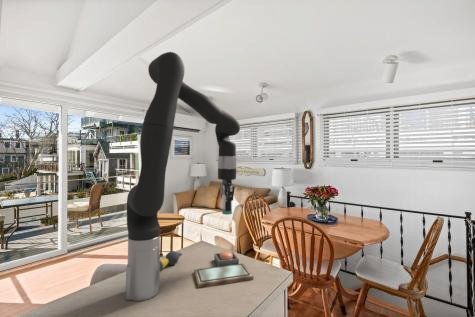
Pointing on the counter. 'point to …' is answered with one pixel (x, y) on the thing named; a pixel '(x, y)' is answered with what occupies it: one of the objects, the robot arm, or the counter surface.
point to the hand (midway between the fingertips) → (226, 209)
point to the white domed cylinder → (224, 206)
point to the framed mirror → (222, 275)
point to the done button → (226, 256)
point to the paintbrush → (170, 259)
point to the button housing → (225, 262)
